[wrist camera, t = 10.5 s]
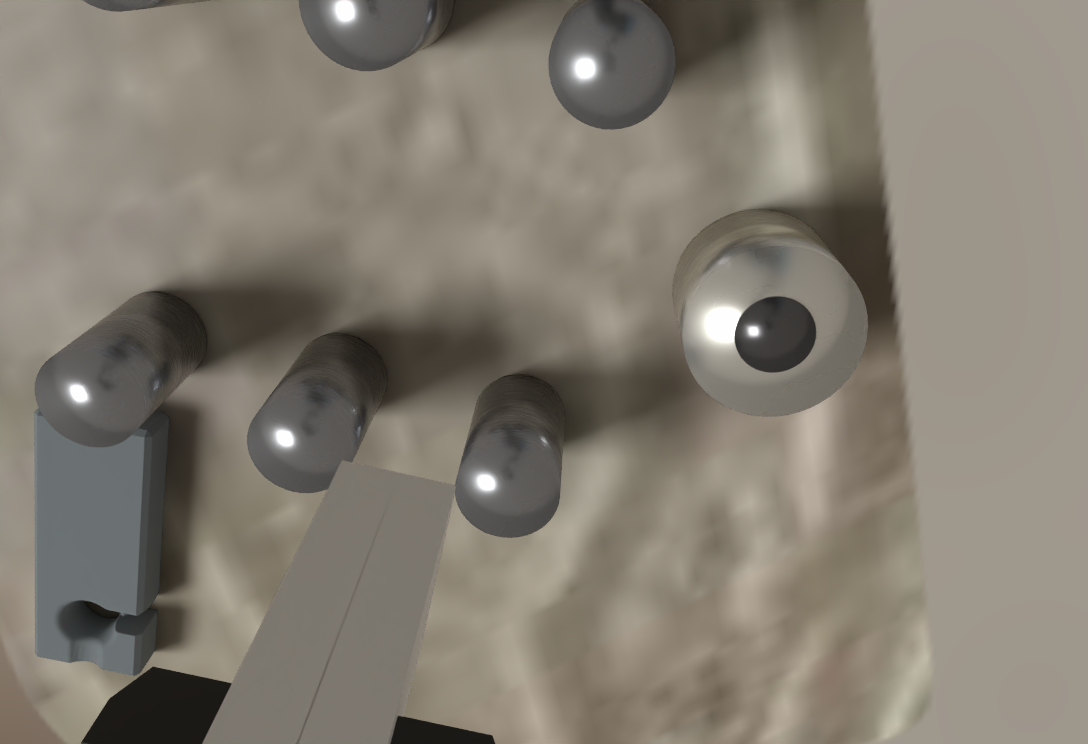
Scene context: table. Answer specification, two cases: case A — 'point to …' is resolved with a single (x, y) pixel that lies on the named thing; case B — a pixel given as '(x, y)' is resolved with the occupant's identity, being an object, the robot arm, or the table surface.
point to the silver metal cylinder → (767, 314)
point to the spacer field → (346, 361)
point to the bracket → (99, 545)
